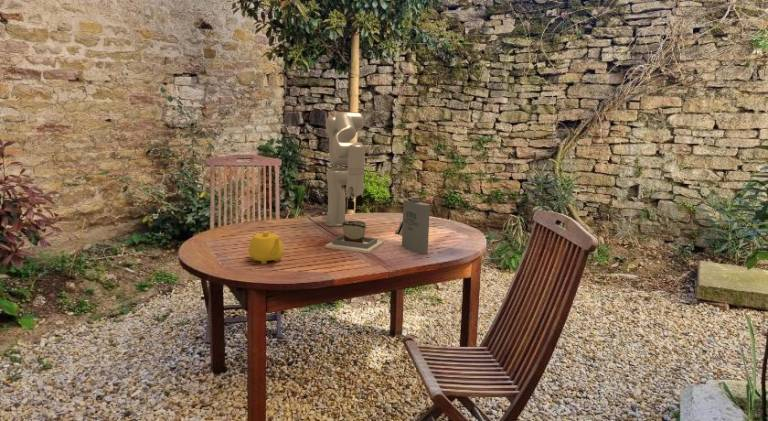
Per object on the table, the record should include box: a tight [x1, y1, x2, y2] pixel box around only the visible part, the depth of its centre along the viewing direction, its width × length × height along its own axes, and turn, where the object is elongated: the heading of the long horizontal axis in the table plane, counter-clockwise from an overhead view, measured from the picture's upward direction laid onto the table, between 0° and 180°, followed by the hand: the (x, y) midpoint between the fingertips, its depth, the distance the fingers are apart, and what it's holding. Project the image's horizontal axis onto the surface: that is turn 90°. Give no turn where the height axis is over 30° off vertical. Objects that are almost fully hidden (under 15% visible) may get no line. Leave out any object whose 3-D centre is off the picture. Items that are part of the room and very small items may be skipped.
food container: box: [341, 220, 367, 243], centre depth 238 cm, size 12×6×10 cm, turn 70°
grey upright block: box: [401, 195, 431, 255], centre depth 232 cm, size 17×5×25 cm, turn 33°
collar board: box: [324, 234, 384, 254], centre depth 237 cm, size 22×18×3 cm
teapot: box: [247, 230, 285, 265], centre depth 209 cm, size 13×20×12 cm
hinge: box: [394, 219, 403, 236], centre depth 266 cm, size 17×5×10 cm, turn 130°
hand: (355, 207), depth 234 cm, fingers open, 9 cm apart
